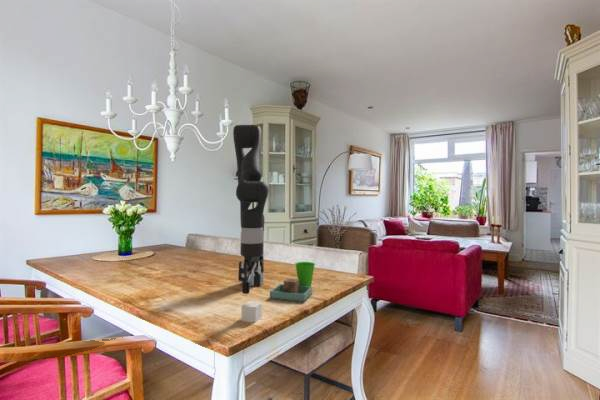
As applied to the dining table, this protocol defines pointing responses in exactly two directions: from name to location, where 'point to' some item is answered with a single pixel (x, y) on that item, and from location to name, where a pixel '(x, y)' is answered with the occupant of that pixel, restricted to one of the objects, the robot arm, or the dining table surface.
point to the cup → (305, 273)
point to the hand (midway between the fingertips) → (251, 290)
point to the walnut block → (291, 285)
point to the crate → (291, 294)
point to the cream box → (251, 311)
